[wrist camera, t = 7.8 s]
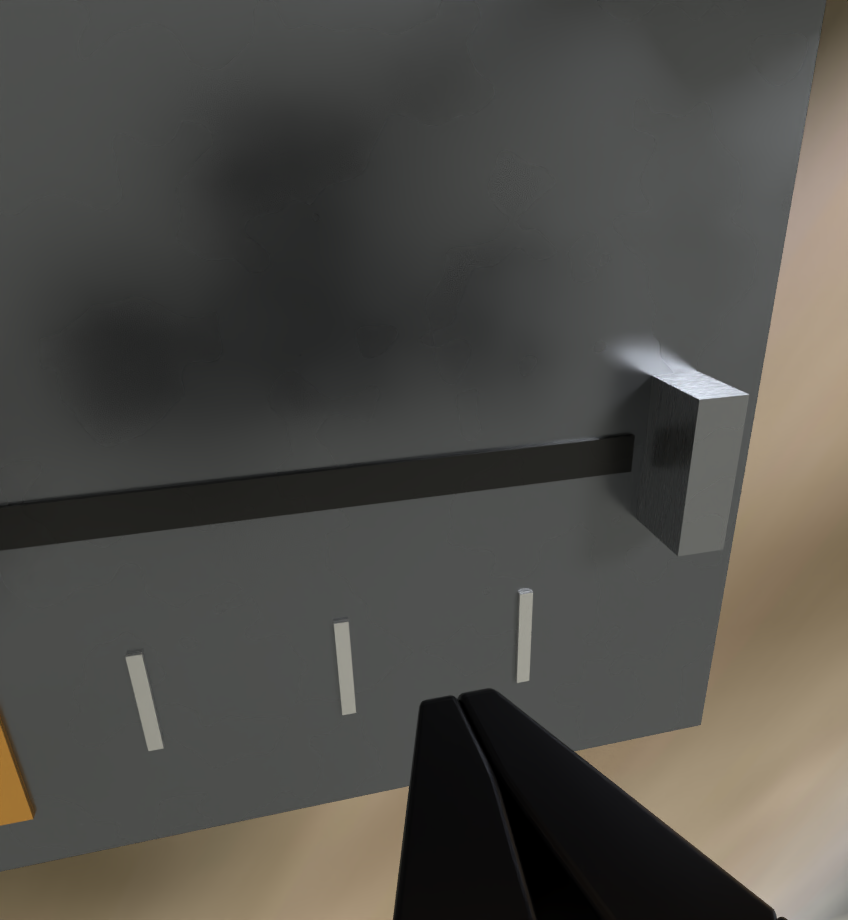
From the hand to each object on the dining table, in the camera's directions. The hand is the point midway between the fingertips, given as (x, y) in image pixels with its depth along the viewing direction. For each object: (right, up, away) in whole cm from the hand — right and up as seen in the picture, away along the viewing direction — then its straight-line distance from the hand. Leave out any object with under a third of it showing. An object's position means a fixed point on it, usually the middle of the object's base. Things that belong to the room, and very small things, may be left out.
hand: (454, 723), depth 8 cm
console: (-5, +3, +7) cm, 9 cm away
